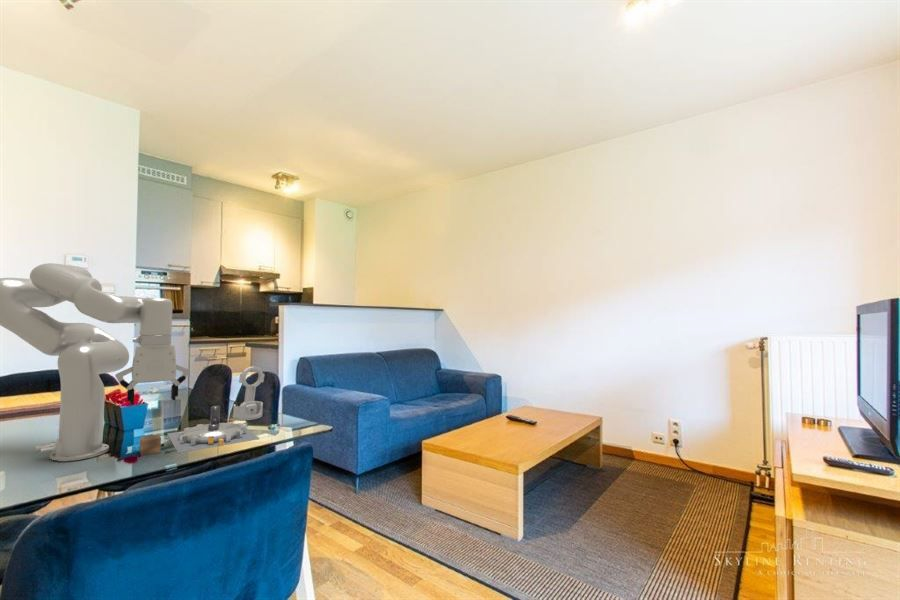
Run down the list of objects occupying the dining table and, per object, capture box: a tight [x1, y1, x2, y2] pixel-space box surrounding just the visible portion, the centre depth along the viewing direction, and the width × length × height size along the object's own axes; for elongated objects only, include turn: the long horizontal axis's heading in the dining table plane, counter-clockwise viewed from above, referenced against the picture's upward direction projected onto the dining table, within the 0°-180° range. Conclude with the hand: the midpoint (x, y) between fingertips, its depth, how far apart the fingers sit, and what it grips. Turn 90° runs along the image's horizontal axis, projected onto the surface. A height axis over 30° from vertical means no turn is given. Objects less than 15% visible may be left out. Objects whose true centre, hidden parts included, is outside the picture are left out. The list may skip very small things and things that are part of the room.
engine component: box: [232, 365, 265, 421], centre depth 159 cm, size 11×20×10 cm
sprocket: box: [178, 405, 247, 445], centre depth 134 cm, size 19×19×8 cm
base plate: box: [166, 422, 260, 454], centre depth 134 cm, size 22×23×3 cm
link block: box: [139, 433, 162, 456], centre depth 118 cm, size 4×4×6 cm
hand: (153, 401), depth 118 cm, fingers open, 9 cm apart
